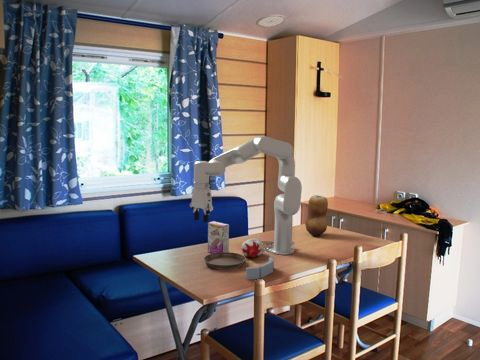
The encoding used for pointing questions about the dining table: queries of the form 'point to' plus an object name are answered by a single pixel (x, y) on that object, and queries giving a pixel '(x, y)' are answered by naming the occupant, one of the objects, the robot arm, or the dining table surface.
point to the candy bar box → (218, 237)
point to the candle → (251, 248)
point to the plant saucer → (224, 260)
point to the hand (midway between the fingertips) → (201, 220)
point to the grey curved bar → (260, 270)
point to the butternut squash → (317, 215)
